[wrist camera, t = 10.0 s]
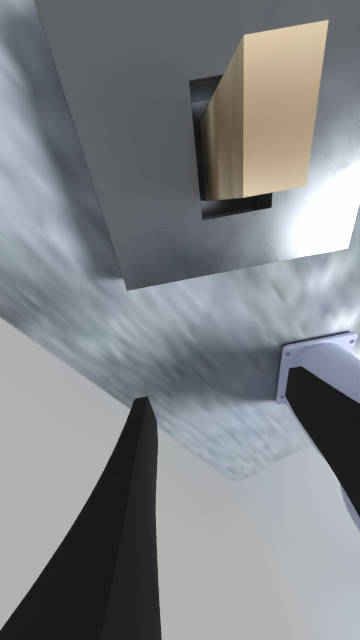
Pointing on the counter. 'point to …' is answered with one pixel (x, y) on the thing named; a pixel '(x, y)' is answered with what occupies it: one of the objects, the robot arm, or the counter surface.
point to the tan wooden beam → (264, 114)
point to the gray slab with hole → (178, 134)
